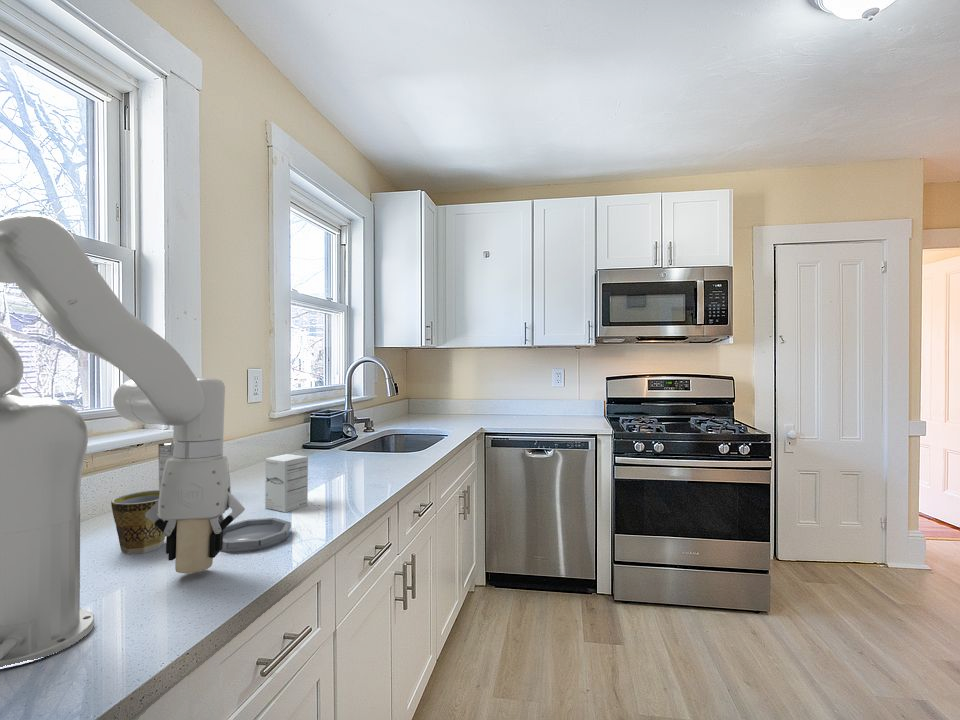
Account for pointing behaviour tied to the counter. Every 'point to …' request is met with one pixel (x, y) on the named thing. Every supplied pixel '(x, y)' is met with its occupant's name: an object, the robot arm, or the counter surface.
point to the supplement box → (286, 482)
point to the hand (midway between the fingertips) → (194, 555)
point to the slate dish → (254, 534)
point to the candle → (193, 545)
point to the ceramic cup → (136, 522)
